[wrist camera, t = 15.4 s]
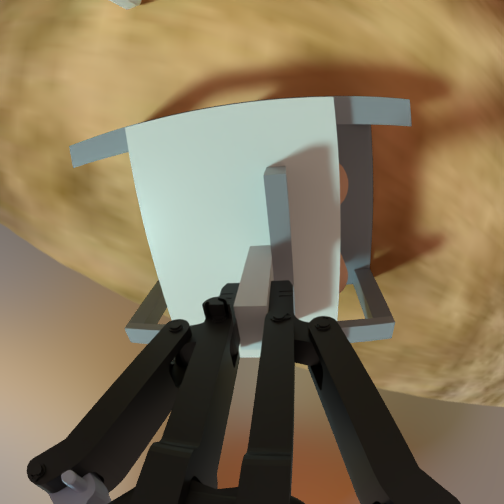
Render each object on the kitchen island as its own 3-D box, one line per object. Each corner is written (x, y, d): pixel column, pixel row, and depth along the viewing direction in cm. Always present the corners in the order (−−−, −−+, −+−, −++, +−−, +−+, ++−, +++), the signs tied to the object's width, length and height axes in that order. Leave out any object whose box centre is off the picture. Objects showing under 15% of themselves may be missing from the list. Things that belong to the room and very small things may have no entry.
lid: (133, 127, 18) (101, 130, 14) (330, 98, 16) (342, 91, 12) (187, 347, 27) (175, 378, 23) (332, 344, 25) (337, 379, 21)
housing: (128, 135, 29) (69, 146, 19) (367, 106, 25) (409, 99, 15) (164, 289, 38) (131, 342, 28) (367, 280, 34) (391, 338, 24)
